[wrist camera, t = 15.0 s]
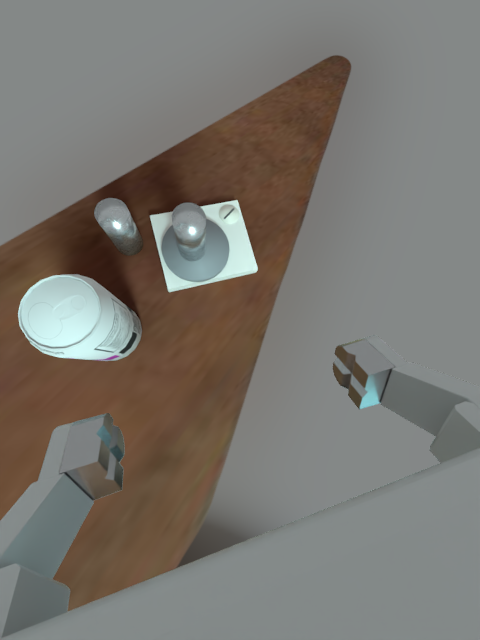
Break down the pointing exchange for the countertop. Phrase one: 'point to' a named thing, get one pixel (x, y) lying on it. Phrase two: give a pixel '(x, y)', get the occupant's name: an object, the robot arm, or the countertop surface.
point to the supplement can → (78, 319)
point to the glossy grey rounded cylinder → (190, 230)
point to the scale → (221, 248)
